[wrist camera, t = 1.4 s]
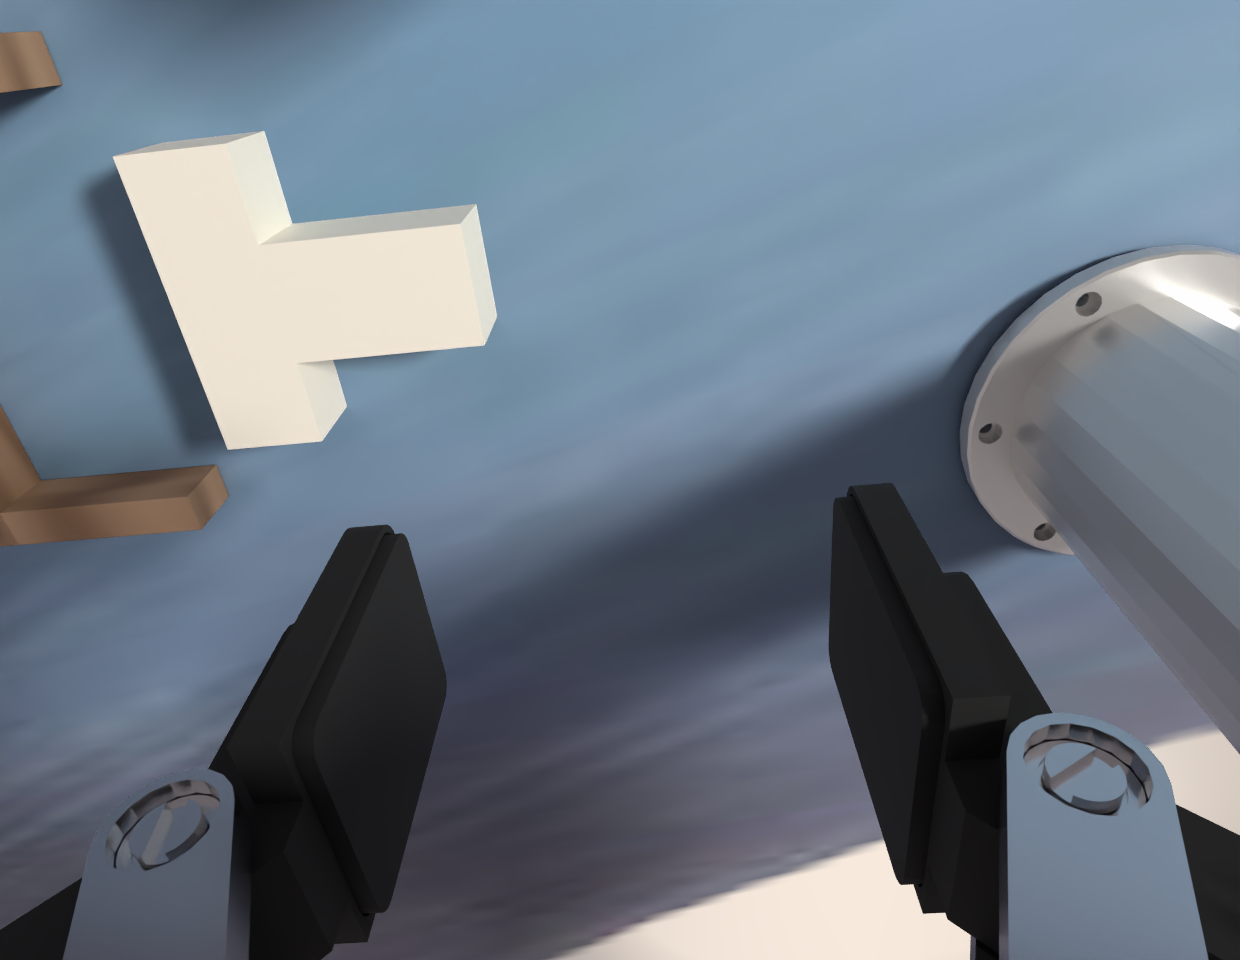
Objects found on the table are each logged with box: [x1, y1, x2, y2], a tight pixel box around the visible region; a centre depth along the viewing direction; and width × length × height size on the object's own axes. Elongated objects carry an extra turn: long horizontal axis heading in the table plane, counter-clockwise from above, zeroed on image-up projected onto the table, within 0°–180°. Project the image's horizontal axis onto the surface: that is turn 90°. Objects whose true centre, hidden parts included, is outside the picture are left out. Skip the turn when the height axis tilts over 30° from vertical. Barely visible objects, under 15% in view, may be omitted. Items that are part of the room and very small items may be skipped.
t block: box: [113, 131, 497, 450], centre depth 28 cm, size 10×10×3 cm
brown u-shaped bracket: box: [0, 32, 229, 546], centre depth 29 cm, size 9×17×2 cm, turn 6°
